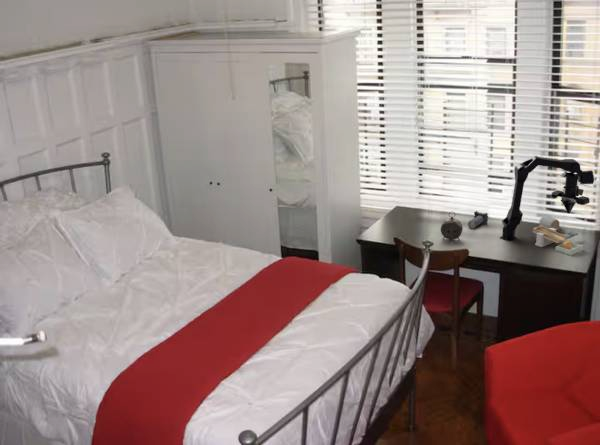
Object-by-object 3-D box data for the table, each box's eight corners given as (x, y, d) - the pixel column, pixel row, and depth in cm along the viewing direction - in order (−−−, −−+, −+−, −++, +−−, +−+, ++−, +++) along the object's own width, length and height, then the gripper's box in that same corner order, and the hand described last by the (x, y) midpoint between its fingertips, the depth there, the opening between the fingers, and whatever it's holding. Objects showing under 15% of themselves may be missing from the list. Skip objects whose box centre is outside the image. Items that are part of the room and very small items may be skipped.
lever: (556, 248, 350) (558, 239, 347) (531, 237, 360) (532, 228, 358) (576, 239, 359) (578, 230, 357) (551, 228, 370) (553, 220, 368)
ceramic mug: (551, 234, 369) (552, 220, 367) (538, 230, 376) (539, 216, 373) (563, 229, 375) (565, 216, 372) (550, 225, 381) (551, 212, 379)
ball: (564, 251, 348) (569, 247, 345) (559, 244, 349) (565, 240, 346) (569, 249, 350) (574, 245, 347) (564, 242, 351) (570, 238, 348)
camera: (476, 223, 394) (465, 231, 385) (474, 210, 392) (463, 217, 383) (490, 223, 387) (480, 231, 379) (488, 210, 385) (478, 218, 377)
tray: (571, 255, 342) (571, 250, 341) (555, 250, 349) (555, 244, 348) (583, 250, 347) (583, 244, 346) (567, 245, 354) (567, 239, 353)
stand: (541, 247, 353) (542, 235, 351) (535, 245, 357) (535, 233, 354) (556, 241, 360) (557, 229, 358) (549, 239, 363) (550, 227, 361)
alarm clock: (462, 239, 368) (463, 210, 363) (461, 243, 364) (462, 214, 358) (441, 238, 372) (441, 209, 366) (439, 241, 367) (440, 212, 362)
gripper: (597, 184, 352) (594, 213, 358) (564, 177, 367) (562, 205, 372) (584, 189, 346) (581, 219, 352) (551, 181, 361) (549, 210, 366)
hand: (568, 213), depth 360 cm, fingers closed
